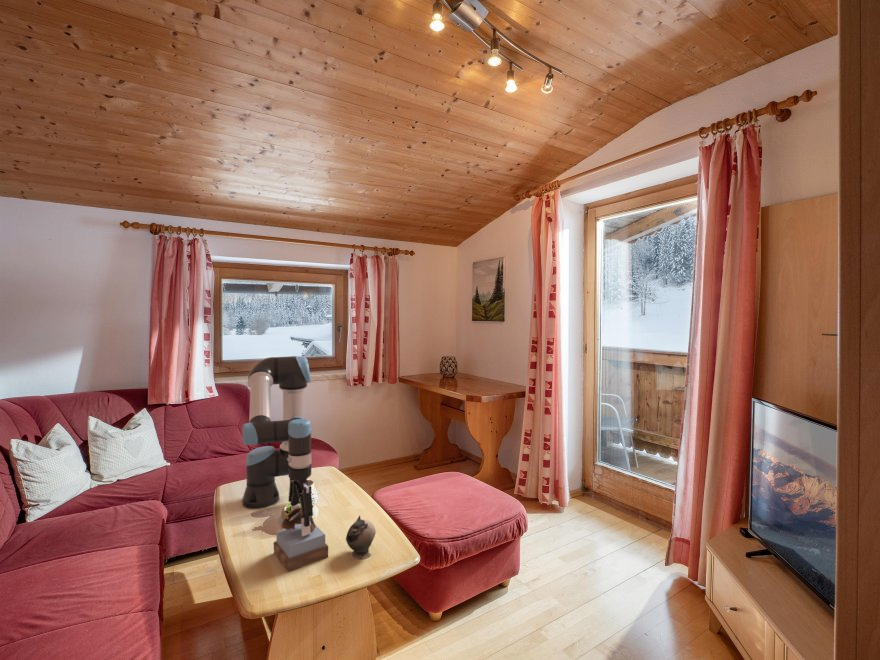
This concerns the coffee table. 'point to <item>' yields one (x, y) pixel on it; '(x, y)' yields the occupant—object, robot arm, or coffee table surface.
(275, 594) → the coffee table surface
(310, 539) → the top brick
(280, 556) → the base brick
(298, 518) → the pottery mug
